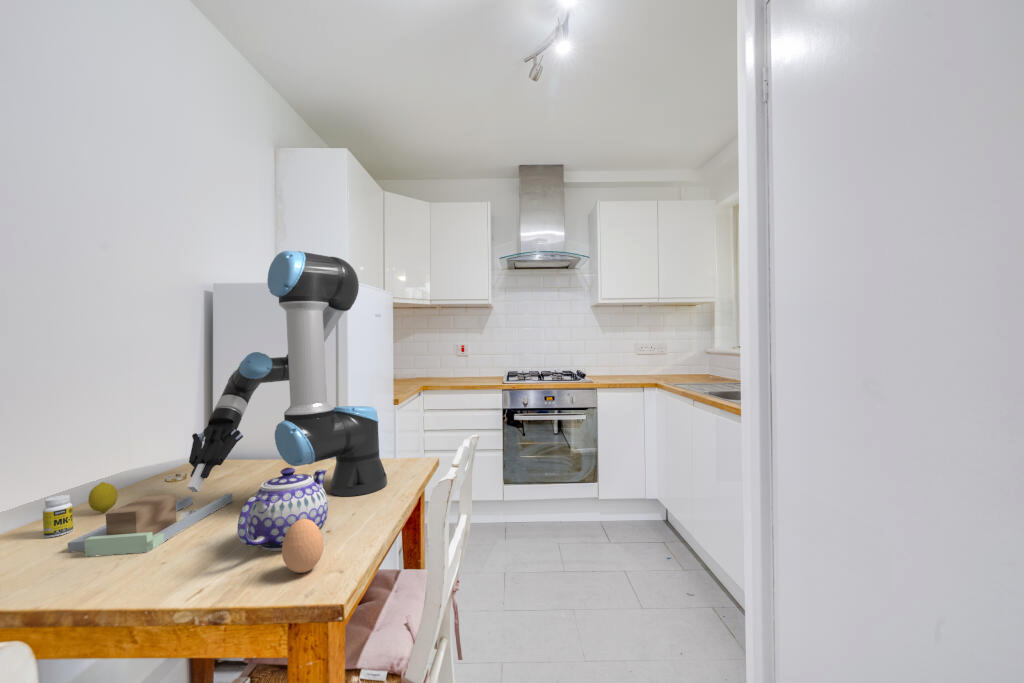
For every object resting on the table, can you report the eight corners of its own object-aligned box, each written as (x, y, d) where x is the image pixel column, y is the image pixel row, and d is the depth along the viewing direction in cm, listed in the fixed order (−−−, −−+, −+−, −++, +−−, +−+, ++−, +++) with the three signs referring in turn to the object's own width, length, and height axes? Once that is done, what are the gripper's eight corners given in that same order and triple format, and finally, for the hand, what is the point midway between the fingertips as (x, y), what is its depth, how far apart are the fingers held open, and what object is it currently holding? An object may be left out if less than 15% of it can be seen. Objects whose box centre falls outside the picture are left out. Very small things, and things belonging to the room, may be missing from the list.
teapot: (274, 574, 77) (270, 489, 77) (204, 568, 80) (201, 486, 81) (357, 517, 101) (354, 453, 101) (301, 515, 105) (298, 452, 105)
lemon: (115, 507, 117) (113, 477, 117) (120, 511, 114) (119, 480, 114) (86, 514, 113) (85, 483, 113) (91, 518, 110) (90, 486, 110)
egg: (309, 582, 74) (306, 527, 74) (274, 580, 75) (271, 527, 75) (332, 562, 80) (329, 512, 80) (299, 561, 81) (297, 512, 81)
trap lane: (163, 505, 117) (162, 492, 117) (232, 500, 118) (232, 487, 118) (53, 559, 87) (52, 541, 87) (147, 552, 88) (146, 535, 88)
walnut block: (150, 530, 100) (148, 495, 101) (176, 528, 101) (175, 493, 101) (107, 552, 89) (105, 513, 90) (137, 550, 90) (135, 511, 90)
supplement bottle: (53, 538, 98) (52, 501, 98) (37, 538, 99) (36, 500, 99) (79, 529, 103) (77, 494, 103) (63, 529, 104) (61, 493, 104)
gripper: (256, 420, 131) (226, 494, 114) (211, 423, 130) (174, 498, 113) (245, 404, 126) (212, 479, 109) (198, 408, 125) (157, 484, 108)
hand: (193, 489), depth 111 cm, fingers closed
